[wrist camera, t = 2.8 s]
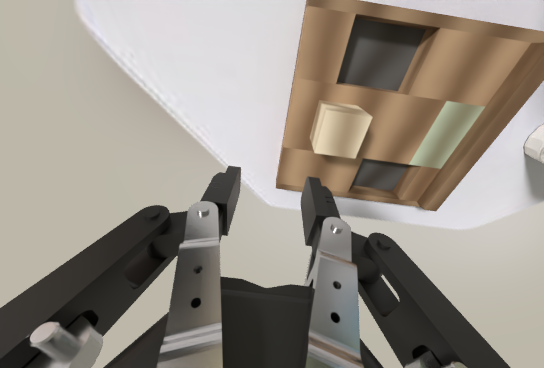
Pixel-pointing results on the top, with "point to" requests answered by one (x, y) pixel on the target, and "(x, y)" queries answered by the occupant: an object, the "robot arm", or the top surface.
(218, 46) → the top surface
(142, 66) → the top surface
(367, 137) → the box
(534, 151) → the white cup
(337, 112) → the birch block
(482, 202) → the top surface
